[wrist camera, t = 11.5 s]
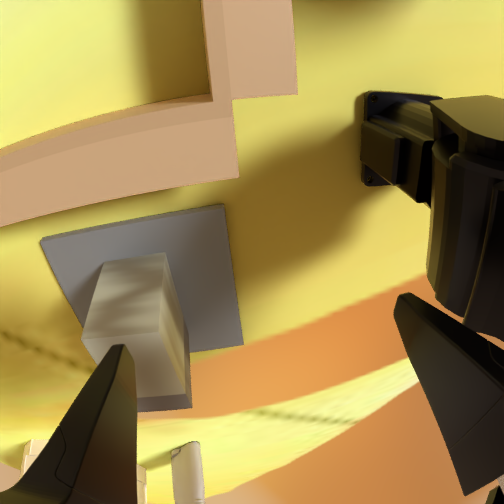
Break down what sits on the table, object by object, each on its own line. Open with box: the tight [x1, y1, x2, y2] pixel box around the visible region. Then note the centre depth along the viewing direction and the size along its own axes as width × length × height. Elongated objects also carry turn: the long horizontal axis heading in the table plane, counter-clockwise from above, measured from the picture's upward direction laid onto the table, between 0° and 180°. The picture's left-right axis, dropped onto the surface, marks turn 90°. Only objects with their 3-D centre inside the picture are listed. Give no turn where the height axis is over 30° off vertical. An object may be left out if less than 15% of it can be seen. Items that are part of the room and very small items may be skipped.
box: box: [81, 252, 192, 412], centre depth 20 cm, size 4×8×7 cm, turn 4°
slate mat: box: [40, 204, 244, 353], centre depth 23 cm, size 13×13×1 cm
